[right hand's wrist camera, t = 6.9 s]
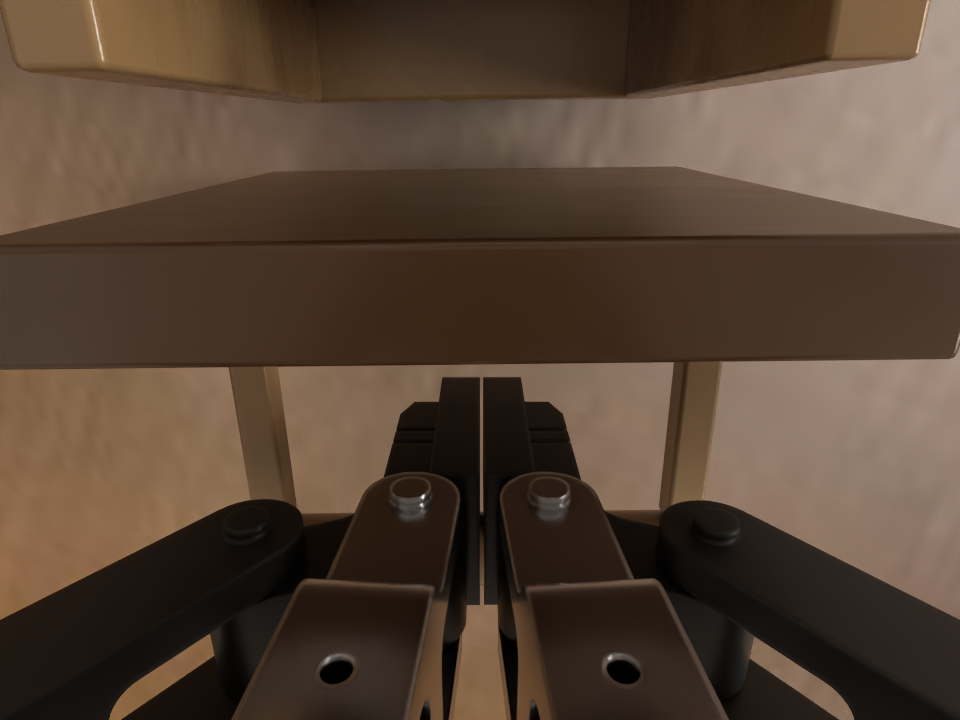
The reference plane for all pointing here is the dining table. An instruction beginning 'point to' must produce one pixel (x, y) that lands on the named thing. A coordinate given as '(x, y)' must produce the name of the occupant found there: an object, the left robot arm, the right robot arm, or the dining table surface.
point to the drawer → (471, 212)
